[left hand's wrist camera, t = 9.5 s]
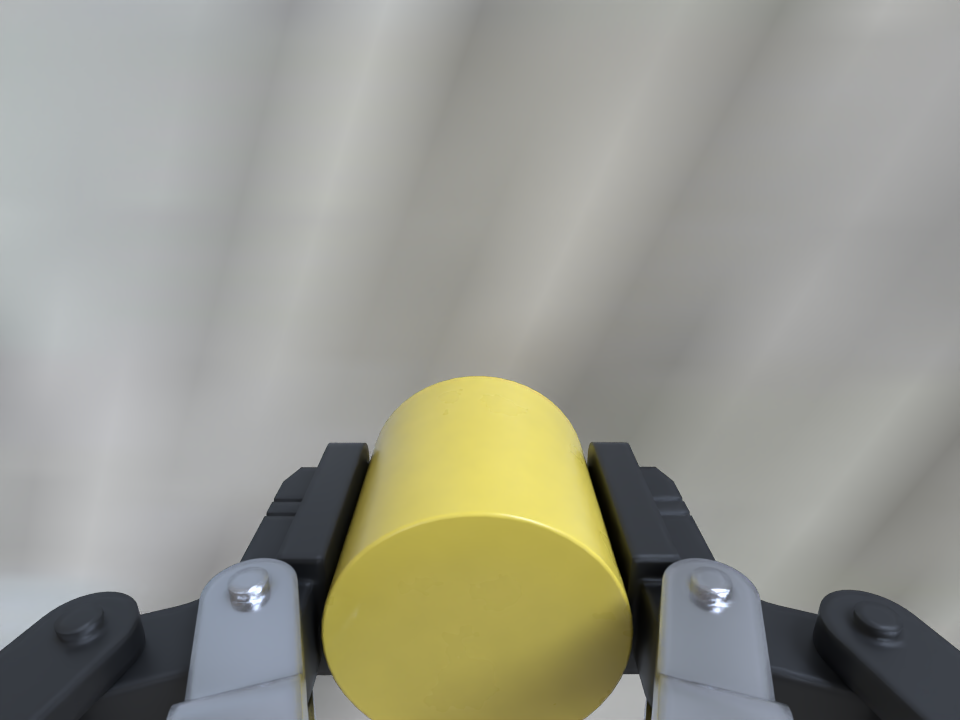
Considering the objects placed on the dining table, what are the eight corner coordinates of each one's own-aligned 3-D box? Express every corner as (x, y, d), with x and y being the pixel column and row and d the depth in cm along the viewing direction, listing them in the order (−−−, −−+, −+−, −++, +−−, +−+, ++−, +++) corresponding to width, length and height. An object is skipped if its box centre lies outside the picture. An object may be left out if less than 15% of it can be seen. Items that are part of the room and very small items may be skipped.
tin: (373, 553, 14) (326, 748, 10) (371, 370, 12) (312, 506, 8) (571, 561, 14) (612, 758, 10) (595, 380, 12) (657, 520, 8)
